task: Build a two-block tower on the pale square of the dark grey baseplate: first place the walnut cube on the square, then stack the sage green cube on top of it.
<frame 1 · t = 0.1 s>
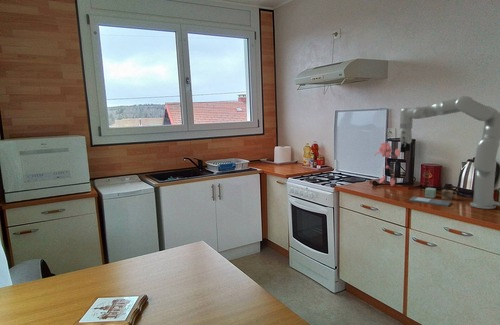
hand: (405, 151, 218), 31 cm above the table, tool pointing down, fingers open, 9 cm apart
pink flower sprig: (384, 185, 256), on the table
baseplate: (429, 202, 205), on the table
green cube: (430, 196, 218), on the table
walnut cube: (447, 198, 212), on the table
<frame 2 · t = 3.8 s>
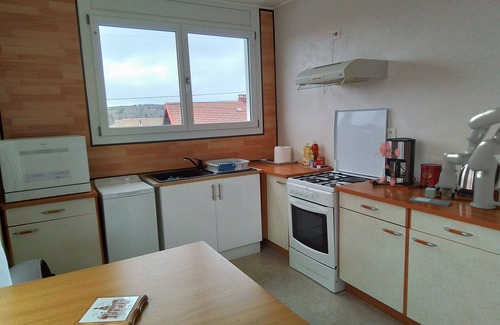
hand: (447, 197, 212), 1 cm above the table, tool pointing down, fingers closed on walnut cube, 5 cm apart
walnut cube: (446, 198, 212), on the table, touching gripper
everything else where it was.
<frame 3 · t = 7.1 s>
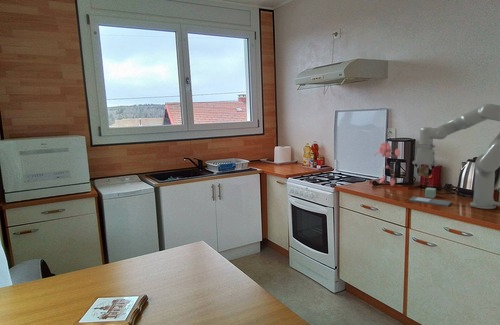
hand: (424, 174, 206), 18 cm above the table, tool pointing down, fingers closed on walnut cube, 5 cm apart
walnut cube: (424, 175, 206), point 17 cm above the table, touching gripper
everything else where it was.
when the fingers open (3 cm above the table, at t = 10.6 s): walnut cube drops 1 cm, resting on baseplate.
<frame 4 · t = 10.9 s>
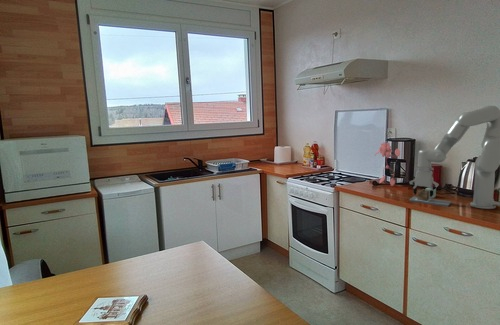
hand: (423, 195, 207), 4 cm above the table, tool pointing down, fingers open, 8 cm apart
walnut cube: (423, 199, 208), point 1 cm above the table, touching baseplate
everything else where it was.
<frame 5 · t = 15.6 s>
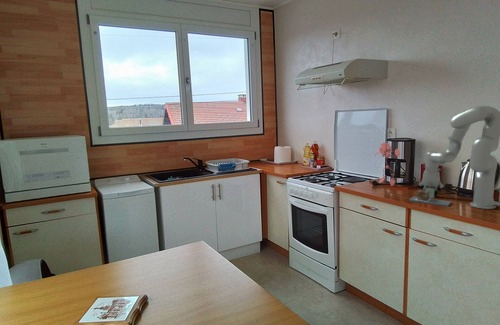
hand: (430, 195, 218), 1 cm above the table, tool pointing down, fingers closed on green cube, 5 cm apart
green cube: (430, 196, 218), on the table, touching gripper
everything else where it was.
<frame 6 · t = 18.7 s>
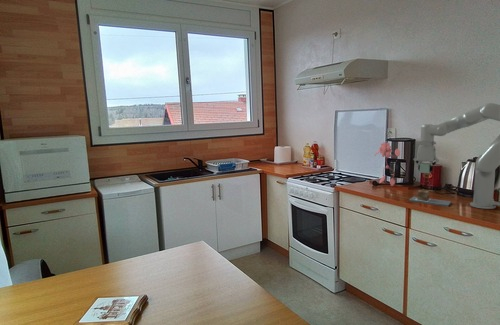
hand: (425, 171, 207), 20 cm above the table, tool pointing down, fingers closed on green cube, 5 cm apart
green cube: (425, 172, 207), point 19 cm above the table, touching gripper
everything else where it was.
when the fingers open (8 cm above the table, at t = 21.8 s): green cube drops 1 cm, resting on walnut cube.
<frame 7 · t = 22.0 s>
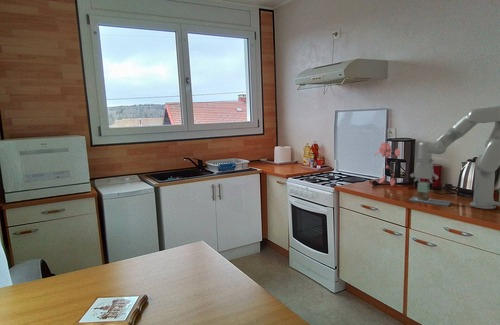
hand: (423, 187, 207), 9 cm above the table, tool pointing down, fingers open, 7 cm apart
green cube: (423, 191, 207), point 7 cm above the table, touching walnut cube
walnut cube: (423, 199, 208), point 1 cm above the table, touching baseplate, green cube
everything else where it was.
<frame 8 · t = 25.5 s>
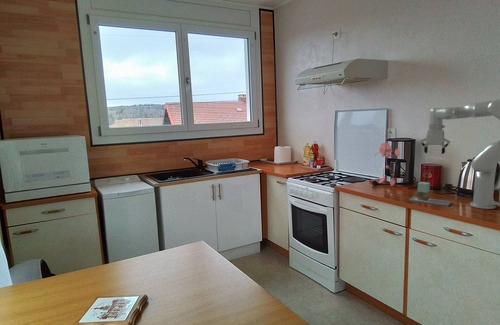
hand: (434, 153, 210), 30 cm above the table, tool pointing down, fingers open, 9 cm apart
nothing on the table moved.
at the end: walnut cube 0.1 cm from the target spot on the baseplate, point 1.1 cm above the baseplate's base; green cube 0.1 cm off-centre on the walnut cube, point 5.5 cm above the walnut cube's base; green cube tilted 0° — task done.
